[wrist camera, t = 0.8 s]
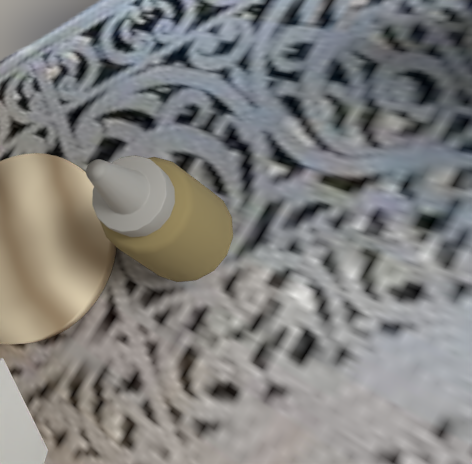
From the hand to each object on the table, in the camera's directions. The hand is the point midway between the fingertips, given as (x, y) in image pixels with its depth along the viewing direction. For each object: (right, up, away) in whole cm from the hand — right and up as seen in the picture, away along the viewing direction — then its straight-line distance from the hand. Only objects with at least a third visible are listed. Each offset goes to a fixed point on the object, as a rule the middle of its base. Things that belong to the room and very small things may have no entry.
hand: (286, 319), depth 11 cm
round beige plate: (-21, +1, +31) cm, 37 cm away
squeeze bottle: (-5, +1, +28) cm, 28 cm away
